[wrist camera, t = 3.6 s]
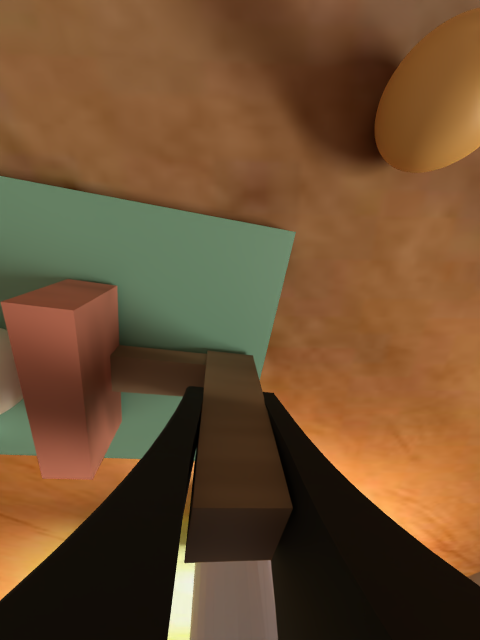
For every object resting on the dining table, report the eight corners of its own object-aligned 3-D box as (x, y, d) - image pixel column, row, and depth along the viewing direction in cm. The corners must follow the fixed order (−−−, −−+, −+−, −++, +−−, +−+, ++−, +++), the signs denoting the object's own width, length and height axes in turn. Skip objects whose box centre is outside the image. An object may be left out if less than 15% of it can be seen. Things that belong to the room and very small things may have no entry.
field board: (238, 448, 16) (239, 462, 15) (-108, 434, 13) (-132, 449, 12) (289, 231, 11) (295, 231, 10) (-278, 124, 8) (-345, 110, 7)
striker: (236, 427, 14) (252, 605, 7) (83, 419, 12) (-61, 623, 6) (263, 305, 11) (329, 421, 4) (67, 279, 10) (-245, 384, 3)
